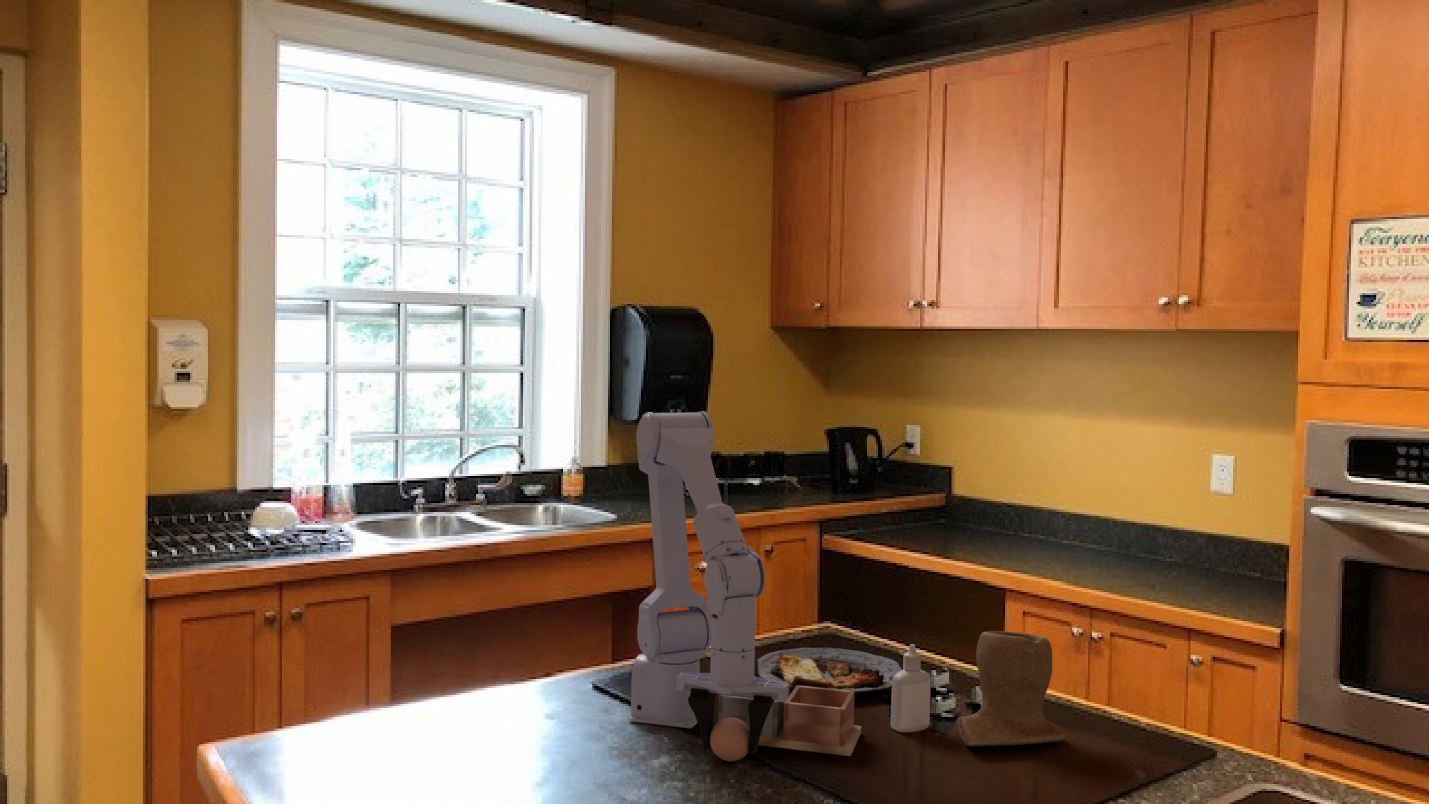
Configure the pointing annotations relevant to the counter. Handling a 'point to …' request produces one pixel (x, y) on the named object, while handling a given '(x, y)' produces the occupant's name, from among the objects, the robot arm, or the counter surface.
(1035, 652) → the brown flared upright piece
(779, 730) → the sorting bin tray
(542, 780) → the counter surface
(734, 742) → the terracotta ball
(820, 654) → the food plate
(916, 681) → the eye dropper bottle
